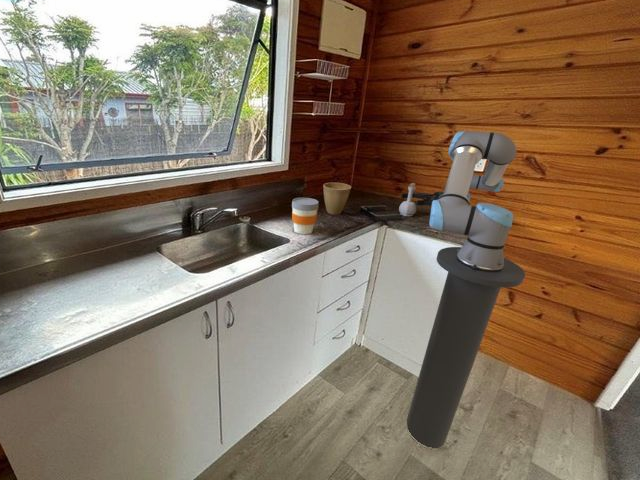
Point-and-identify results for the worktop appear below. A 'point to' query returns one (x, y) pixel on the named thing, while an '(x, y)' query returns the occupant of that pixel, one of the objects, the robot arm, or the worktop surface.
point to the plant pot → (335, 197)
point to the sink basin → (367, 212)
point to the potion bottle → (408, 203)
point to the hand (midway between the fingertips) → (409, 199)
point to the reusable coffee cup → (304, 214)
